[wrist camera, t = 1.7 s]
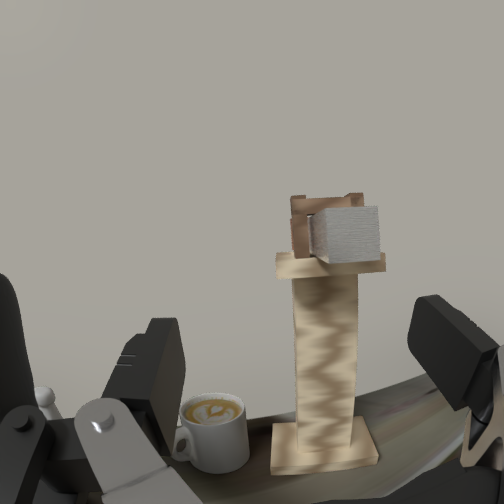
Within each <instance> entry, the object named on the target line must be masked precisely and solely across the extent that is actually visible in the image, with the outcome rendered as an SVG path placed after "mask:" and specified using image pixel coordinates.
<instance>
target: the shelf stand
mask: <svg viewBox="0 0 504 504" xmlns="http://www.w3.org/2000/svg"><path fill="white" fill-rule="evenodd" d="M290 202H291V215H292V230H293V245H294V252H281V253H276V276H277V279H288V278H289V279H290V278H292V294H293V318H294V347H295V387H296V422H295V423H273V433H272V450H271V466H270V468H271V475H294V474H309V473H321V472H330V471H338V470H346V469H352V468H359V467H365V466H370V465H376V464H377V461H378V456H379V455H378V453H377V450H376V448H375V445H374V443H373V440H372V438H371V436H370V433H369V431H368V429H367V426H366V424H365V421H364V419H363V417H362V416H355V417H353V411H354V400H355V386H356V368H357V346H358V274H361V273H373V272H384V271H386V262H385V253H382V252H380V258H381V260H376V261H362V262H348V263H334V264H328V263H327V262H325V261H323V260H321V259H320V258H318V257H316V256H314V255H313V254H311V253H310V251H309V234H308V220H307V216H309V215H315V214H316V213H318V212H320V211H322V210H323V209H325V208H340V207H364V197H363V193H349V194H347V195H346V196H344V197H333V198H332V197H331V198H312V199H306V195H297V196H291V199H290Z"/></svg>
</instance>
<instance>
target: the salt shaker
mask: <svg viewBox="0 0 504 504" xmlns="http://www.w3.org/2000/svg"><path fill="white" fill-rule="evenodd" d="M34 390H35V397H36V400H37V403H38V406H39V409H40V410H41V411H42V412H43V414H44V415H45V417H46V418H47V420H56V419H63V418H62V416H61V414H60V413H59V411H58V409H57V407H56V405H55V404H54V401H55V394H54V393H53V390H52V389H51V388H49V387H47V386H41V387H37V388H35V389H34Z"/></svg>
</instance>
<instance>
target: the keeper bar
mask: <svg viewBox="0 0 504 504" xmlns="http://www.w3.org/2000/svg"><path fill="white" fill-rule="evenodd" d="M307 220H308V234H309V251H310V253H311V254H313V255H314V256H316V257H318V258H320V259H321V260H323V261H325V262H327V263H328V264H334V263H348V262H362V261H376V260H381V258H380V237H379V220H378V207H377V206H368V207H367V206H364V207H340V208H325V209H323V210H322V211H320V212H318V213H316V214H315V215H313V216H311V217H310V218H307ZM290 224H291V239H292V250H294V245H293V230H292V219H290Z"/></svg>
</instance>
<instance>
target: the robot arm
mask: <svg viewBox="0 0 504 504" xmlns="http://www.w3.org/2000/svg"><path fill="white" fill-rule="evenodd" d="M407 339H408V340H407V341H408V347H409V350H410V351H411V353H412V354H413V356H414V357H415V358H416V359H417V361H418V362H419V363H420V365H421V366H422V367H423V369H424V370H425V371H426V373H427V374H428V375H429V377H430V378H431V379H432V381H433V382H434V383H435V385H436V386H437V387H438V389H439V390H440V392H441V393H442V394H443V396H444V397H445V398H446V400H447V401H448V403H449V404H450V405H451V407H452V408H453V410H454V411H457V410H460V409H462V408H464V407H467V406H469V408H470V409H469V411H468V413H467V415H466V422H465V432H464V440H463V447H462V454H461V459H460V461H459V459H458V458H456V459H454V460H452V461H450V462H447V463H445V464H443V465H441V466H438V467H436V468H434V469H431V470H429V471H427V472H424V473H422V474H421V475H419V476H418V477H416V478H415V479H413V480H412V481H410V482H409V483H407V484H406V485H404V486H403V487H401V488H400V489H398V490H396V491H395V492H393V493H391V494H390V495H388V496H386V497H383V498H373V499H355V500H330V501H324V502H319V503H313V504H504V345H502V346H499V345H498V344H497V343H496V342H495V341H494V340H493V339H492V338H490V336H488V335H487V334H486V333H485V332H484V331H483V330H482V329H481V328H479V327H477V325H476V324H475V323H474V322H473V321H470V319H469V318H468V317H467V316H466V315H465V314H463V313H462V312H461V311H459V310H457V309H455V308H453V307H452V306H451V305H450V304H449V303H448V302H446V301H445V300H444V299H443V298H441V297H440V296H439V295H430V296H423V297H419V298H418V299H417V300H416V302H415V305H414V310H413V315H412V319H411V324H410V328H409V332H408V338H407ZM185 371H186V368H185V357H184V352H183V347H182V342H181V337H180V331H179V326H178V322H177V319H176V318H152V319H151V321H150V323H149V326H148V328H147V330H146V333H145V334H136V335H135V336H134V337H133V338H131V339H130V340H129V341H128V342H127V343H126V345H125V347H124V349H123V351H122V353H121V356H120V357H119V359H118V362H117V365H116V366H115V368H114V370H113V372H112V374H111V376H110V379H109V381H108V383H107V385H106V387H105V390H104V392H103V394H102V397H101V398H100V399H95V400H92V401H90V402H88V403H86V404H85V405H83V406H82V407H81V408H80V409H79V410H78V412H77V414H76V416H75V418H67V419H56V420H47V418H46V417H45V415H44V414H43V412H42V411H41V410H40V409H39V406H38V403H37V400H36V397H35V390H34V383H33V377H32V372H31V368H30V364H29V360H28V355H27V350H26V346H25V339H24V333H23V327H22V320H21V314H20V309H19V304H18V300H17V297H16V293H15V291H14V288H13V286H12V284H11V283H10V281H9V280H8V279H7V277H5V276H4V275H3V274H1V273H0V504H86V502H87V498H88V493H89V492H98V491H103V494H101V498H102V501H103V503H104V504H203V503H202V501H201V500H200V499H199V498H198V497H197V496H196V495H195V494H194V492H193V491H192V490H191V489H190V488H189V487H188V485H187V484H186V483H185V482H184V481H183V479H182V478H181V477H180V476H179V475H178V473H177V472H176V471H175V470H174V469H173V468H172V467H171V466H170V465H169V466H167V464H166V463H165V462H164V461H163V459H162V458H161V457H160V456H172V453H173V447H174V440H175V434H176V427H177V421H178V415H179V409H180V403H181V397H182V391H183V385H184V379H185Z"/></svg>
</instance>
